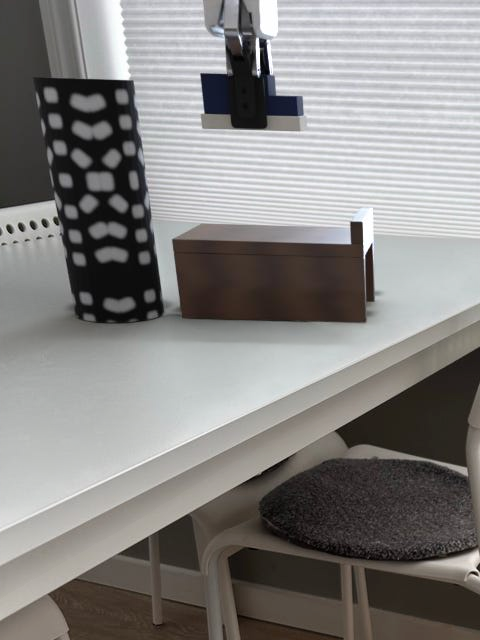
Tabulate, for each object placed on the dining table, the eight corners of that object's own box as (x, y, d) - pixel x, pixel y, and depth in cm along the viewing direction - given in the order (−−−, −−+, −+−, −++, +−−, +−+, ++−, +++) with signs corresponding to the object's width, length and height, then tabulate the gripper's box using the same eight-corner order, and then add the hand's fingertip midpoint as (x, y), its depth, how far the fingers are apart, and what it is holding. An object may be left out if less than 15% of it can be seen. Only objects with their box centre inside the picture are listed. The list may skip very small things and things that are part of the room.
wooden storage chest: (181, 318, 93) (168, 215, 88) (209, 295, 103) (199, 202, 98) (365, 322, 93) (362, 221, 89) (375, 299, 104) (372, 207, 99)
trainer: (201, 128, 87) (195, 72, 85) (212, 127, 91) (207, 73, 88) (300, 131, 87) (297, 75, 85) (307, 129, 91) (304, 76, 89)
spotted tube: (182, 311, 95) (153, 81, 85) (123, 326, 89) (84, 79, 79) (118, 302, 98) (83, 78, 88) (56, 316, 92) (11, 76, 82)
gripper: (212, -104, 87) (233, 123, 96) (162, -143, 72) (192, 129, 81) (294, -101, 87) (308, 125, 96) (261, -139, 72) (280, 132, 82)
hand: (254, 125), depth 89 cm, fingers closed on trainer, 4 cm apart
